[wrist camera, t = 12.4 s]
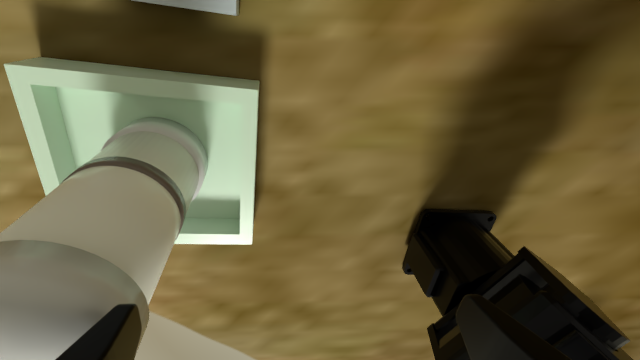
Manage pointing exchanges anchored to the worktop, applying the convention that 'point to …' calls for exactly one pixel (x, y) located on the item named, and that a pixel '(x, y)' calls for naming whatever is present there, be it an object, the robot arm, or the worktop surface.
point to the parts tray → (140, 102)
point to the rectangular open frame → (202, 5)
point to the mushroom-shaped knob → (97, 238)
